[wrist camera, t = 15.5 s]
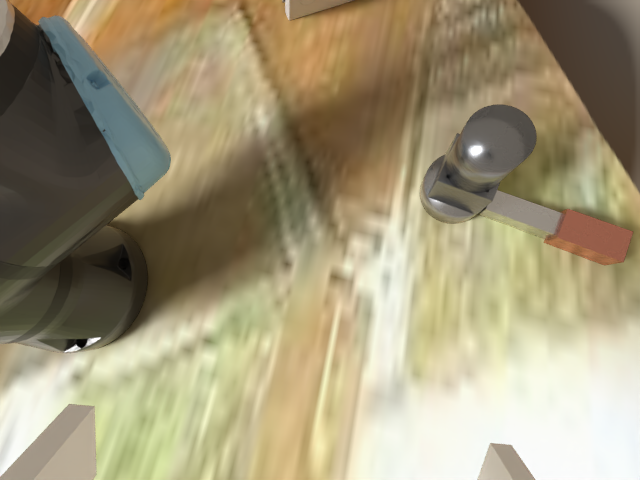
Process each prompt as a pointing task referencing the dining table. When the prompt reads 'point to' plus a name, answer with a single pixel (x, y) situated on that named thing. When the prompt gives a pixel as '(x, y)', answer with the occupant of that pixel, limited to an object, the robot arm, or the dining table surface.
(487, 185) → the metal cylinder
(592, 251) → the ratchet
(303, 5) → the hinge
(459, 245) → the dining table surface
